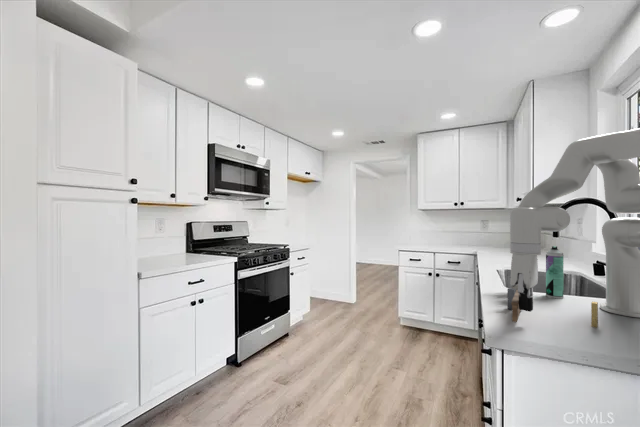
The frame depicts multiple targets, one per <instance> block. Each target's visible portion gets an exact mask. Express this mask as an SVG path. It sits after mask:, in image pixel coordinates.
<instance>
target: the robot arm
mask: <svg viewBox="0 0 640 427" xmlns="http://www.w3.org/2000/svg"><path fill="white" fill-rule="evenodd" d="M636 158H640V128H639V127H638V128H633V129H630V130H623V131H618V132H611V133H606V134H605V133H604V134H601V135H600V134H599V135H595V136H590V137H586V138H581V139H577V140H576V141H573V142H571V143H570V144H569V145H568V146H566V149H565V150H564V152H563V154H562V156H561V157H560V159H559V161H558V163H557V164H556V166H555V168H554V169H553V172H552V173H551V175H550V176H549V177H548V178H546V179H544V180H543V181H542V182H540V183H539V184H538V185H536V186H535V187H533V189H531V190H530V191H528V193H527V194H525V196H523V199H521V201H520V203H519V205H518V207H514V208H512V209H511V210H510V212H509V213H510V214H509V222H510V223H509V224H510V225H509V227H510V228H509V229H510V230H509V238H510V240H509V242H510V243H509V244H510V245H509V246H510V249H509V250H510V251H509V252H510V254H512V256H511V264H510V277H511V278H510V279H509V280H510V281H509V282H510V284H509V285H510V287H511V288H512V287H514V286H516V285H518V293H519V309H520V310H521V311H525V312H532V311H533V310H534V298H533V297H534V294H533V293H534V287H535V286H536V285H538V280H539V268H538V267H539V263H538V262H539V261H538V256H540V255H542V244H541V243H542V235H541V234H542V232H548V233H549V232H551V233H552V232H555V233H556V232H561V231H563V230H564V229H566V228H567V227H568V226H569V225H570V222H571V215H570V213H568V211H567V210H566V209H564V208H563V207H560V206H546V205H547V204H548V203H550V202H552V201H554V200H556V199H559V198H561V197H564V196H567V195H570V194H572V193H575V192H576V191H579V190H580V189H581V188H582V187H583V186H584V184H585V182H586V180H587V179H588V176H589V175H590V173H591V171H592V169H593V167H594V166H596V167H597V168H598V169H599V171H600V172H601V174H602V179H603V188H604V198H605V200H604V201H605V206H606V208H607V210H608V211H609V212H611V213H614V214H623V215H624V214H625V215H631V214H632V215H634V214H635V215H637V214H638V215H640V170H639V167H638V166H637V164H636V163H635V162H634V161H633V160H631V159H636ZM601 234H602V235H601V236H602V238H603V244H604V248H605V302H603V303H602V302H601V303H600V304H599V308H600V309H601V310H602V311H605V312H608V313H611V314H614V315H618V316H623V317H624V316H625V317H631V318H632V317H633V318H640V249H639V248H640V217H616V218H615V217H614V218H610V219H608V220H607V221H605V222H604V223H603V225H602V227H601Z"/></svg>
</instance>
